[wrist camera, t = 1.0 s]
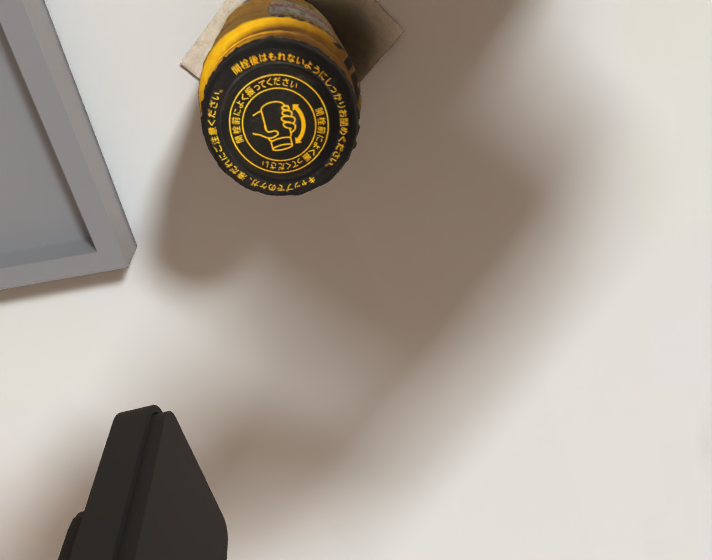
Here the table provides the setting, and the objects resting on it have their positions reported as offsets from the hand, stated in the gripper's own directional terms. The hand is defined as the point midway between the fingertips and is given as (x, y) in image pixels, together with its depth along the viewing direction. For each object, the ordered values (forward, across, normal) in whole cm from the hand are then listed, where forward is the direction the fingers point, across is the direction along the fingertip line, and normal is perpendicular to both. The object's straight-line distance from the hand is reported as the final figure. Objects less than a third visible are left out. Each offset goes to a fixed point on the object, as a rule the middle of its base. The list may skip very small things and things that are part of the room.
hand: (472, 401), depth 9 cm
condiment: (+24, +2, -2) cm, 25 cm away
